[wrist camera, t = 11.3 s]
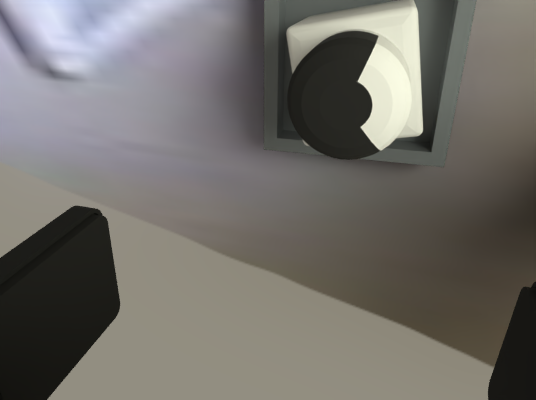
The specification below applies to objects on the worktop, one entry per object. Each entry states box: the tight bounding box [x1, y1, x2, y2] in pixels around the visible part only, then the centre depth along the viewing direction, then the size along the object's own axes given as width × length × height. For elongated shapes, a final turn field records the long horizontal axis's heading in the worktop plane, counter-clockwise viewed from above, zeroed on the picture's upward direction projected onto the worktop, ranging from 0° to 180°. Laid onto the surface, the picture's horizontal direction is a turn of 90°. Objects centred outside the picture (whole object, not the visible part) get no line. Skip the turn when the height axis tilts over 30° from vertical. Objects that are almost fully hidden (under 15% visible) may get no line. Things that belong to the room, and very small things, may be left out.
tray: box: [264, 0, 476, 167], centre depth 32 cm, size 13×13×3 cm
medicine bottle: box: [286, 0, 423, 160], centre depth 27 cm, size 7×7×12 cm
